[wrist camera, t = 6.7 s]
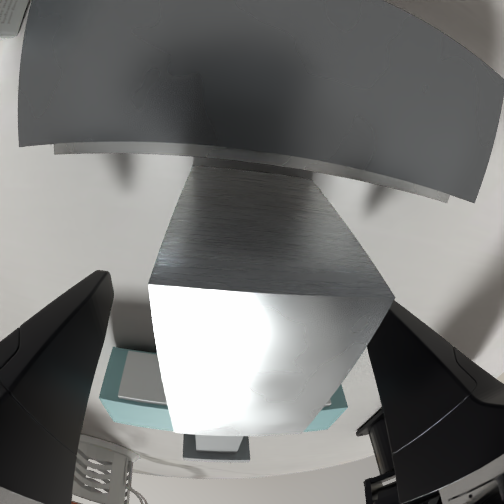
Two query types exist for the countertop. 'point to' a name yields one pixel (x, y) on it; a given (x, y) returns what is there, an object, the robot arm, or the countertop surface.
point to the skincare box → (11, 17)
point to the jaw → (157, 413)
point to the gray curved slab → (262, 88)
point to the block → (258, 303)
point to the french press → (104, 471)
